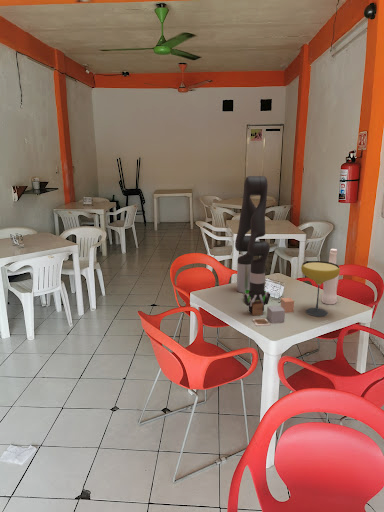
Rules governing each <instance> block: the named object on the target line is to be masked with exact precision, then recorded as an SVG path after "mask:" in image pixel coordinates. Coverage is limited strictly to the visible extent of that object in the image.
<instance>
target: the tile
mask: <svg viewBox="0 0 384 512" xmlns="http://www.w3.org/2000/svg"><path fill="white" fill-rule="evenodd" d="M251 321H252V322H253V323H254V326H256V327H261V326H263V327H264V326H271V325H272V323H271V322H270V321H269V319H268V318H267V317H266V318H265V317H264V318H253V319H251Z"/></svg>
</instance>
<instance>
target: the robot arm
mask: <svg viewBox="0 0 384 512" xmlns="http://www.w3.org/2000/svg"><path fill="white" fill-rule="evenodd" d="M243 184H244V185H243V196H242V205H241V209H240V215H239V223H238V230H237V233H236V237H235V243H234V244H235V245H234V247H235V250H236V251H237V252H241V253H242V252H246V253H245V254H243V255H239V256H238V258H237V260H236V261H237V264H236V265H237V267H236V270H237V271H236V273H237V274H236V291H237V292H238V293H240V294H241V293H242V296H243V300H244V304H245V305H246V306H247V307H248V312H249V314H251V313H252V304H253V303H254V301H256V300H260V302H261V303H262V304H263V312H262V314H263V313H264V311H265V305H268V304H269V302H270V301H269V300H270V297H271V293H270V292H269V291H266V290H265V288H266V287H265V286H266V264H267V259H268V256H269V253H270V250H271V248H270V244H269V243H268V242H267V241H264V240H262V241H256V239H257V238H262V237H264V236H265V235H266V212H267V211H266V209H267V208H266V207H267V198H268V189H269V188H268V178H267V177H266V176H263V175H250V176H246V177H245V180H244V183H243ZM251 196H259V202H258V204H257V207H256V205H255V203H254V202H253V201H252V197H251ZM249 232H250V235H247V234H248V233H249ZM257 256H258V257H259V258H257V259H255V258H254V257H257ZM245 290H249V292H248V293H247V294H246V292H245ZM265 291H266V292H265ZM264 295H265V300H264V302H263V296H264ZM248 296H250V301H249V302H248V299H247V298H248Z"/></svg>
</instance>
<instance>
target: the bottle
mask: <svg viewBox="0 0 384 512" xmlns="http://www.w3.org/2000/svg"><path fill="white" fill-rule="evenodd" d="M337 255H338V248H330V250H329V256H328V257H329V258H328V262H330V263H334V264H336V265H337ZM339 278H340V274H339V275H338V276H337V277H336V278H334V279H331V280H328V281H325V282H323V283H322V284H323V285H322V293H321V297H320V298H321V302H322V303H323V304H325V305H336V304H337V300H338V296H337V292H338V284H339Z"/></svg>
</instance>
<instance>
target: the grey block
mask: <svg viewBox="0 0 384 512" xmlns="http://www.w3.org/2000/svg"><path fill="white" fill-rule="evenodd" d="M285 315H286V313H285V310H284V309H283V308H282V307H281V305H272V306H271V305H269V306H267V309H266V319H267V320H268V322H269V323H270V324H275V323H285Z"/></svg>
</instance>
